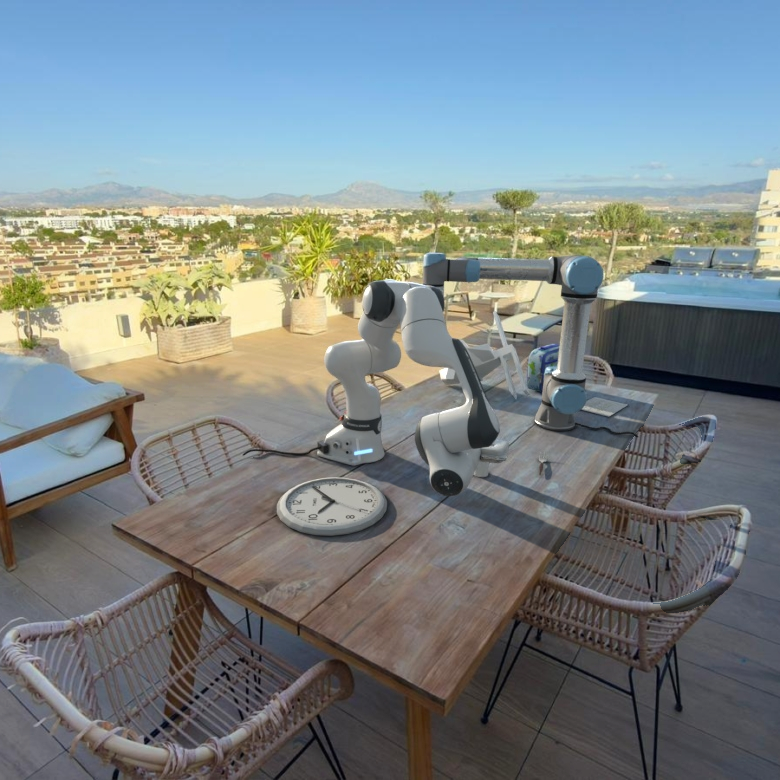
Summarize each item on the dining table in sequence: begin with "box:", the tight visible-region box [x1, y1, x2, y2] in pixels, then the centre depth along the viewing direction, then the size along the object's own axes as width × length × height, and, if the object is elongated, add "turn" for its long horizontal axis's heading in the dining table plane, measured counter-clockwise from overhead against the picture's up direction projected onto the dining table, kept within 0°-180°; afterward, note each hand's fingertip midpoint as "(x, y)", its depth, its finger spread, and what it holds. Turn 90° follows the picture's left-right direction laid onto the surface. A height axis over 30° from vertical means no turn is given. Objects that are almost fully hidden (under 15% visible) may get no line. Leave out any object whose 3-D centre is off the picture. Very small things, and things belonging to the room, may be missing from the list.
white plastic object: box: [438, 310, 531, 400], centre depth 245 cm, size 37×45×31 cm
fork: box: [538, 451, 548, 475], centre depth 168 cm, size 3×16×2 cm, turn 160°
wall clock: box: [276, 476, 388, 537], centre depth 142 cm, size 30×2×30 cm
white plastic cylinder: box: [473, 461, 490, 478], centre depth 160 cm, size 5×5×19 cm
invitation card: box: [580, 396, 629, 418], centre depth 226 cm, size 21×1×15 cm
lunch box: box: [526, 343, 560, 394], centre depth 248 cm, size 26×11×21 cm, turn 135°
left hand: (472, 435), depth 138 cm, fingers open, 8 cm apart
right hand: (430, 357), depth 190 cm, fingers open, 13 cm apart
